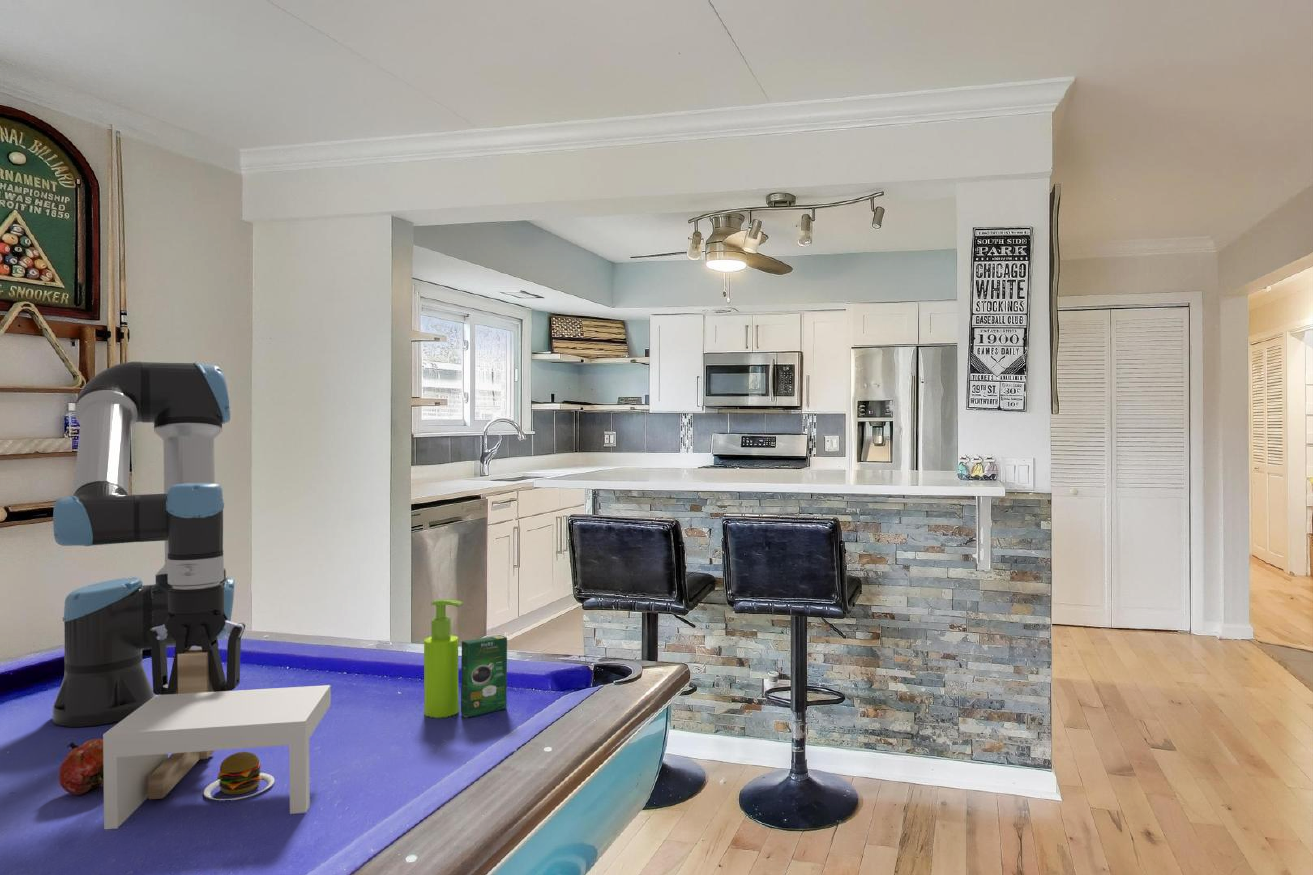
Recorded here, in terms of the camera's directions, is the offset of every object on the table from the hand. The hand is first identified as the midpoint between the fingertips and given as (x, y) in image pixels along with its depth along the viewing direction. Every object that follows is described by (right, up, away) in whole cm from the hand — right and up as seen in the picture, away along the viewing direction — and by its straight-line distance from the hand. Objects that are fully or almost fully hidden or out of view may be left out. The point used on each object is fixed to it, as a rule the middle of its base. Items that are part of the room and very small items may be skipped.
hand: (197, 737), depth 127 cm
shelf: (+11, -3, -12) cm, 17 cm away
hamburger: (+12, -4, -10) cm, 16 cm away
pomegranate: (-9, -4, -11) cm, 14 cm away
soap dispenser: (+32, -3, +21) cm, 39 cm away
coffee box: (+39, -3, +21) cm, 45 cm away
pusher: (+1, -3, -7) cm, 7 cm away
